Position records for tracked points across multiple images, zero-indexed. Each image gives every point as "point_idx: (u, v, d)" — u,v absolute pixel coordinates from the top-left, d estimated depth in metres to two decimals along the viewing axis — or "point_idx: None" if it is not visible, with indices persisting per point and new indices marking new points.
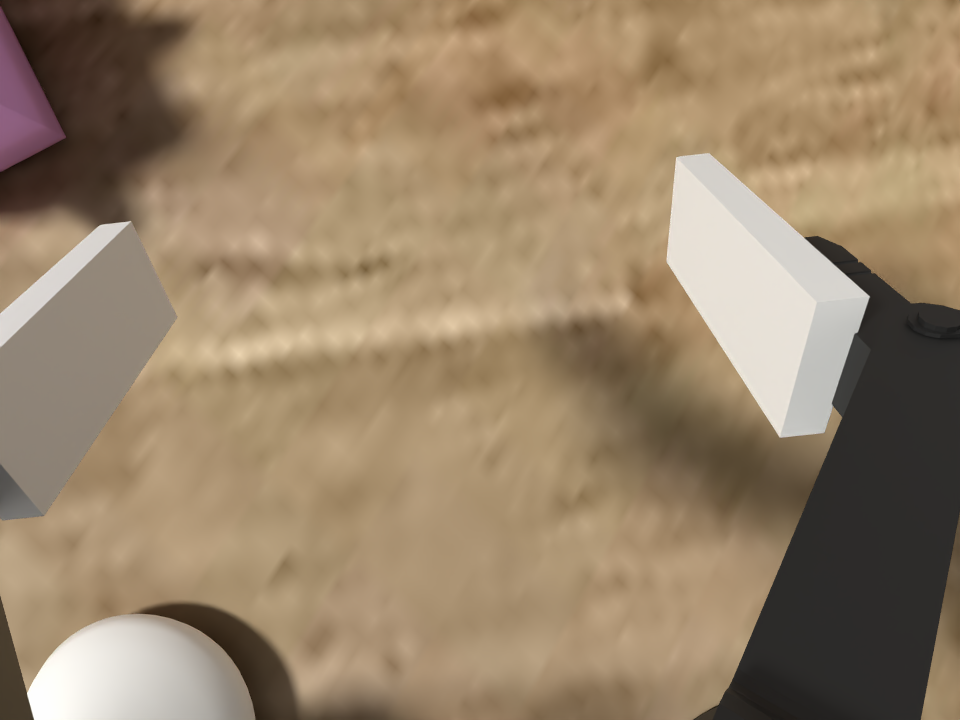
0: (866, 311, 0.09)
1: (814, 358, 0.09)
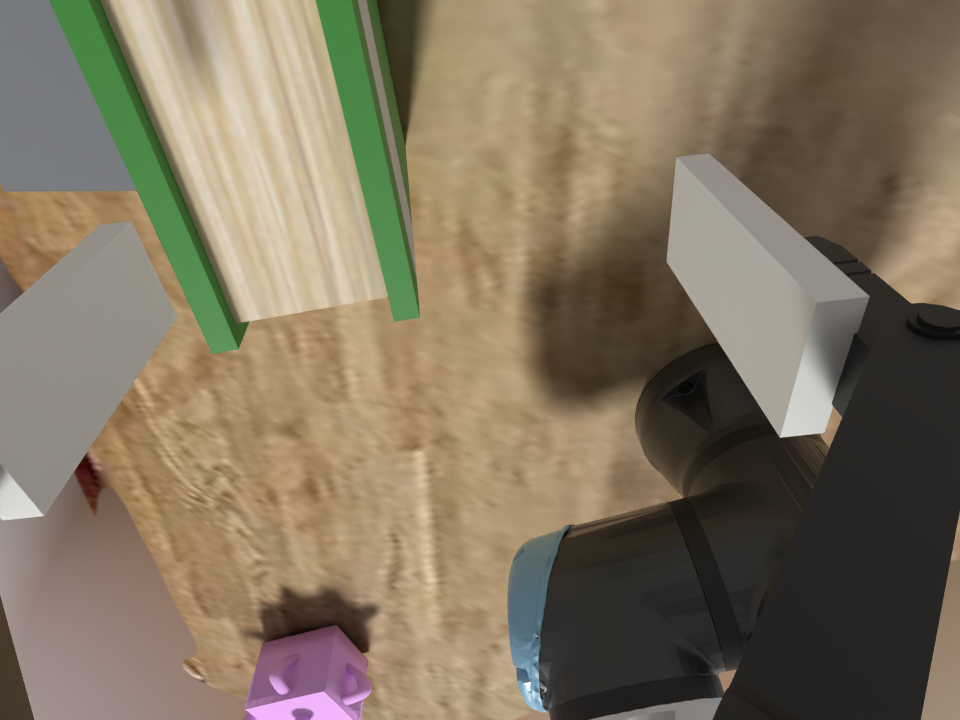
0: (866, 311, 0.09)
1: (814, 358, 0.09)
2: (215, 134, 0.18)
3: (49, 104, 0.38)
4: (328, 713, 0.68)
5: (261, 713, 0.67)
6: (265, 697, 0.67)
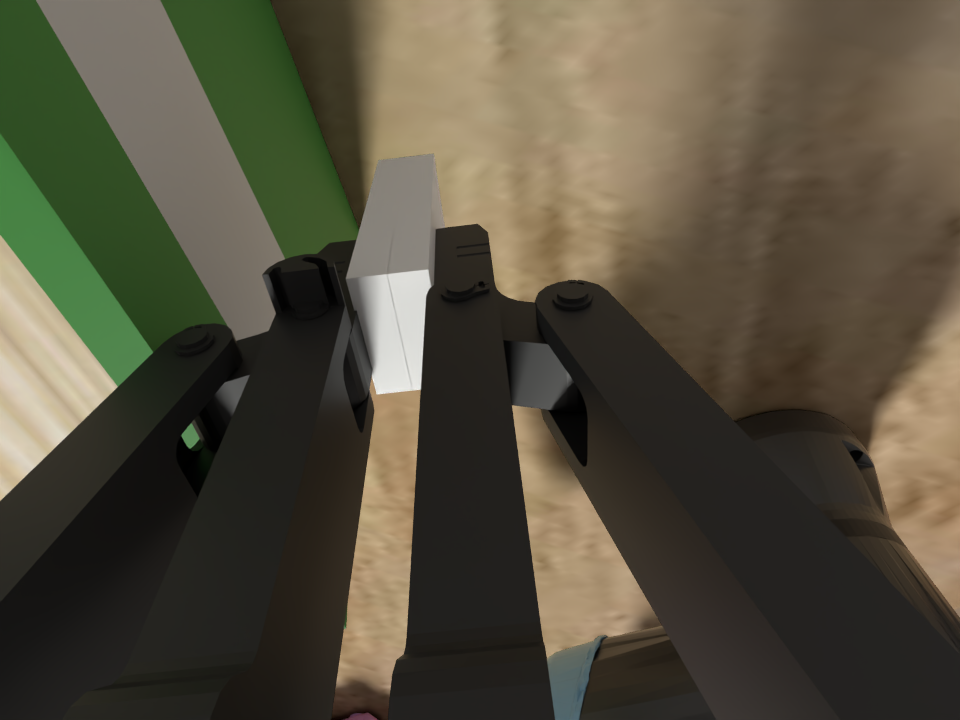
0: None
1: (408, 321, 0.11)
2: None
3: None
4: None
5: None
6: None
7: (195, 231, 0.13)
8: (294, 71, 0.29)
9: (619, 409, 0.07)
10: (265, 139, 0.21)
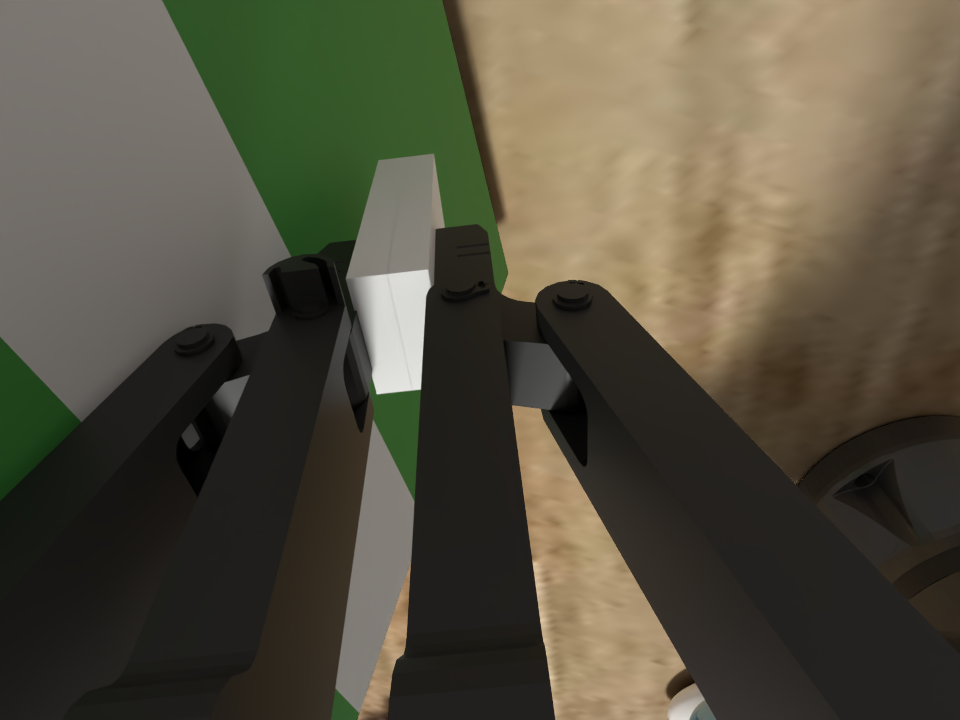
0: None
1: (408, 321, 0.11)
2: None
3: None
4: None
5: None
6: None
7: None
8: (454, 77, 0.24)
9: (619, 409, 0.07)
10: None
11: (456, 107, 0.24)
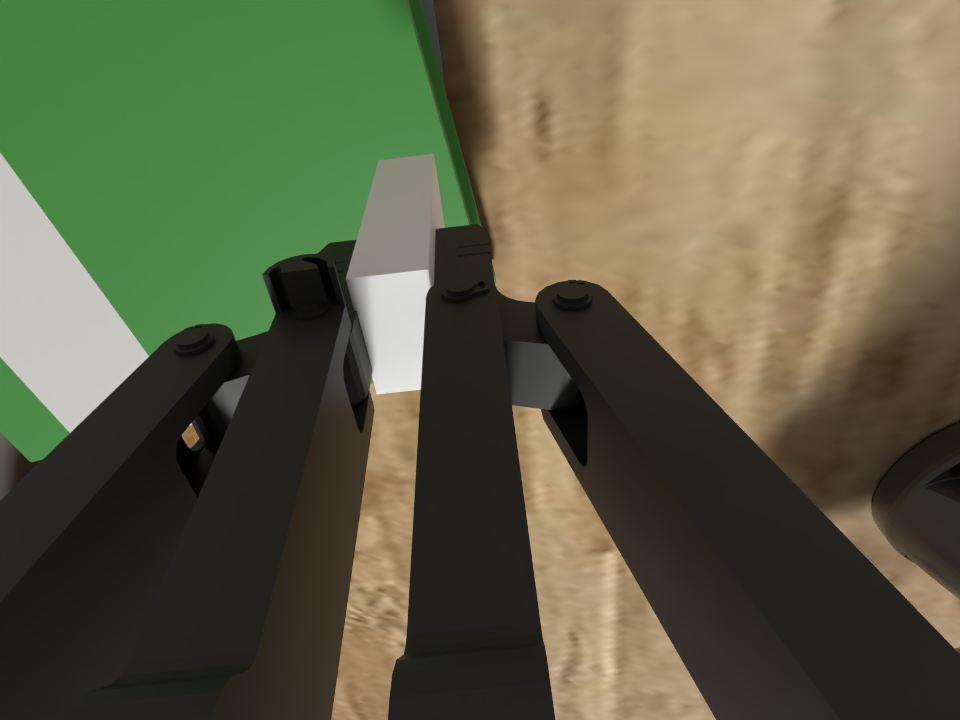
0: None
1: (408, 321, 0.11)
2: None
3: None
4: None
5: None
6: None
7: None
8: (420, 135, 0.21)
9: (619, 409, 0.07)
10: (162, 223, 0.22)
11: None
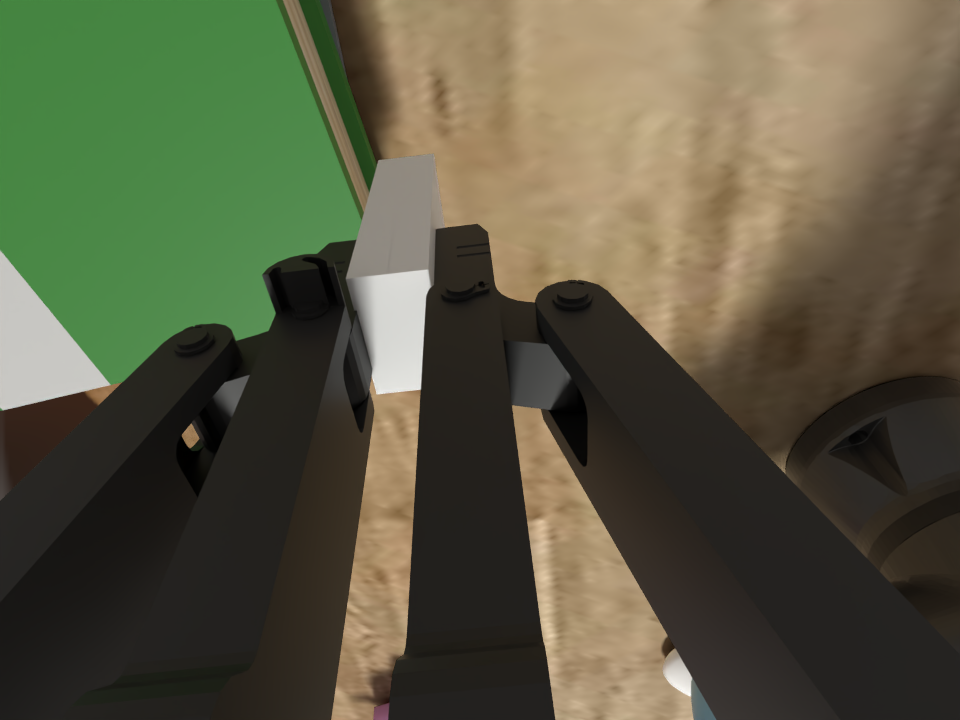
0: None
1: (408, 321, 0.11)
2: None
3: None
4: None
5: None
6: None
7: None
8: (295, 106, 0.22)
9: (619, 409, 0.07)
10: (56, 189, 0.24)
11: (289, 136, 0.23)
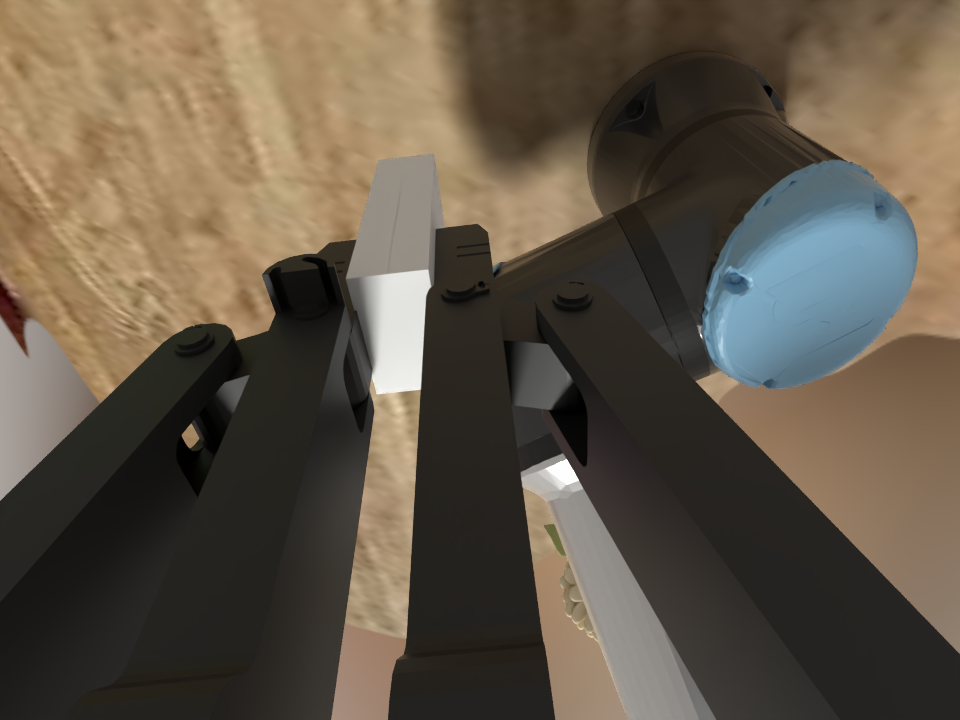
0: None
1: (408, 321, 0.11)
2: None
3: None
4: None
5: None
6: None
7: None
8: None
9: (619, 409, 0.07)
10: None
11: None
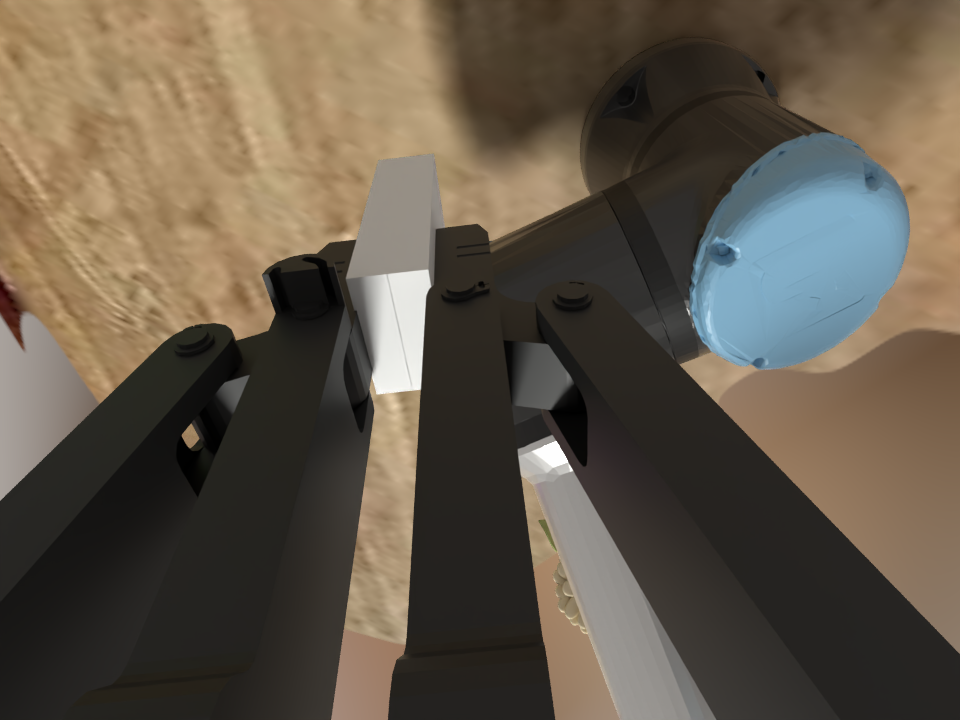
0: None
1: (408, 321, 0.11)
2: None
3: None
4: None
5: None
6: None
7: None
8: None
9: (619, 409, 0.07)
10: None
11: None
